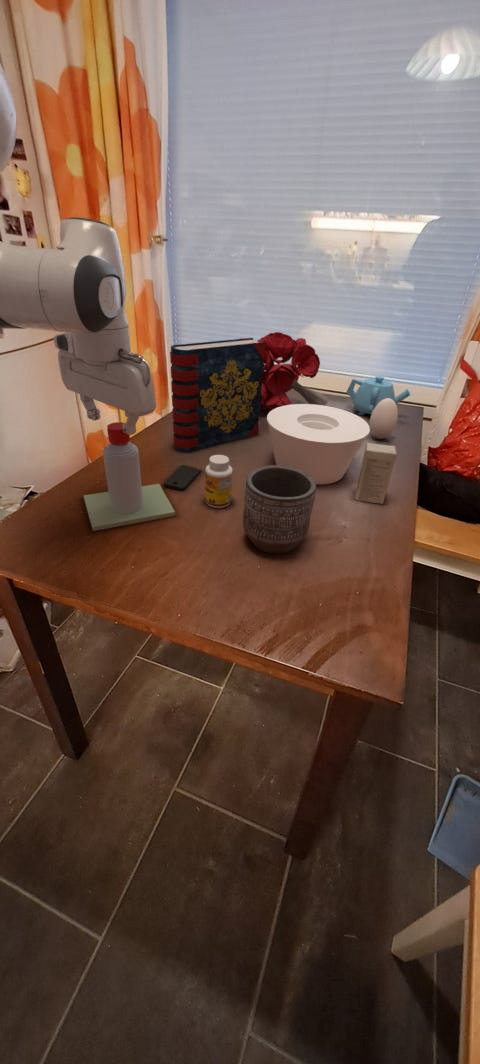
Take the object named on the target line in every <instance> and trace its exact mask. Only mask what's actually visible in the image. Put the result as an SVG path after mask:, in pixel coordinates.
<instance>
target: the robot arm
mask: <svg viewBox="0 0 480 1064" xmlns="http://www.w3.org/2000/svg"><path fill="white" fill-rule="evenodd" d="M17 120H18V119H17V108H16V104H15V100H14V95H13V93H12V89H11V85H10V83H9V81H8V77H7V76H6V72H5V70H4V68H3V65H2V63H1V62H0V176H1V175H2V174H3V172H4V171H5V170H6V168H7V166H8V164H9V162H10V160H11V158H12V155H13V152H14V149H15V145H16V139H17V129H18V127H17V123H18V121H17ZM59 224H60V225H59V241H60V242H59V244H58V245H56V246H55V248H48V247H47V248H46V247H34V246H24V245H15V244H10V243H7V242H3V241H1V240H0V329H16V330H20V329H21V330H23V329H24V330H25V329H31V330H40V331H51V332H60V333H57V334H55V335H54V336H53V343H54V347H55V349H57V350H58V352H57V361H58V367H59V372H60V376H61V381H62V384H63V385H64V388H66V390H68V391H70V392H72V393H75V394H77V395H78V394H79V398H80V399H79V400H80V401H81V403H82V405H83V407H84V409H85V410H86V416H87V417H86V418H87V419H89V420H91V421H95V422H96V421H98V420H100V419H101V410H100V409H99V408H97V405H96V403H95V401H97V402H100V403H102V404H105V405H107V406H110V407H113V408H116V409H118V410H120V411H123V412H124V416H125V417H126V421H125V422H123V423H124V424H122V428H123V433H125V434H128V435H130V436H132V435H136V433H137V424H138V420H139V418H140V417H143V416H146V415H149V414H153V412H154V411H155V410H156V408H157V398H156V389H155V384H154V378H153V375H152V372H151V367H150V364H149V363H148V362H147V360H146V359H145V358H144V356H143V355H141V354H139V353H133V352H132V349H131V337H130V336H131V335H130V324H129V319H128V317H127V313H126V299H127V285H126V284H127V283H126V275H125V267H124V260H123V256H122V255H123V254H122V250H121V246H120V241H119V237H118V234H117V231H116V230H115V229H114V227H112V226H111V225H109V224H108V223H105V222H103V221H100V220H96V219H92V218H87V217H80V216H79V217H78V216H77V217H75V216H74V217H67V218H64V219H61V221H60V223H59Z"/></svg>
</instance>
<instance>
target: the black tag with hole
mask: <svg viewBox="0 0 480 1064" xmlns="http://www.w3.org/2000/svg"><path fill="white" fill-rule="evenodd" d="M201 472H202V469H199V468H197V467H195V466H190V465H185V464H182V465H180V466H179V467H178V468H177V469H176V470H175V471H174V472H172V474H171V475H169V477H168V478H166V479H165V480H164V482H163V487H165V488H169V489H173V490H178V491H185V490H186V489H187V488H188V487H189V485H190V484H191V483H192V482H193V481H194V480H195V479H196V478H197V477H198V476H199V474H201Z"/></svg>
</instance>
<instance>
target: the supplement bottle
mask: <svg viewBox="0 0 480 1064" xmlns="http://www.w3.org/2000/svg"><path fill="white" fill-rule="evenodd" d="M233 472H234V469H233V468H232V466H231V465H230V458H229V457H228V456H227V455H223V454H213V455H211V456H210V457H209V460H208V464H207V465H206V467H205V471H204V501H205V504H206V505H207V506H209V507H210V508H214V509H223V508H227V507H228V506H229V505H230V504H231V502H232V491H233V490H232V489H233V475H234V474H233Z"/></svg>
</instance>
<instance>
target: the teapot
mask: <svg viewBox="0 0 480 1064" xmlns="http://www.w3.org/2000/svg"><path fill="white" fill-rule="evenodd" d="M356 385H358V386H359V387H358V389H357V390H356V391H355V390H354V389H355V387H356ZM394 388H395V387H394V384H393V383H392V381H390V380H386V379H385V378H384V376H382V375H376V376H375V378H372V377H369V378H366V379H365V380H361V379H358V378H355V377H353V378H352V380H351V381H350V383H349V385H348V387H347V390H346V394H347V395H348V396H349V398H350V399H351V400H352V404H353V407H354V409H355V410H356V411H358V412H357V414H358V416H359V415H360V416H365V415H366V414H368V415H372V412H373V410H374V409H375V407H376V406H377V405H378V403H379V402H380V401H382V400H384V399H386V398H390V399H392V400H393V401H394V402H395V404H396V405H398V404H399V403H401V402H402V401H404V400H405V399H407V398H408V397H410V396H411V392H410V391H409V389H405V390H403V391H402V392H400V393H399V394H397V396H396V395H395V389H394Z"/></svg>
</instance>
